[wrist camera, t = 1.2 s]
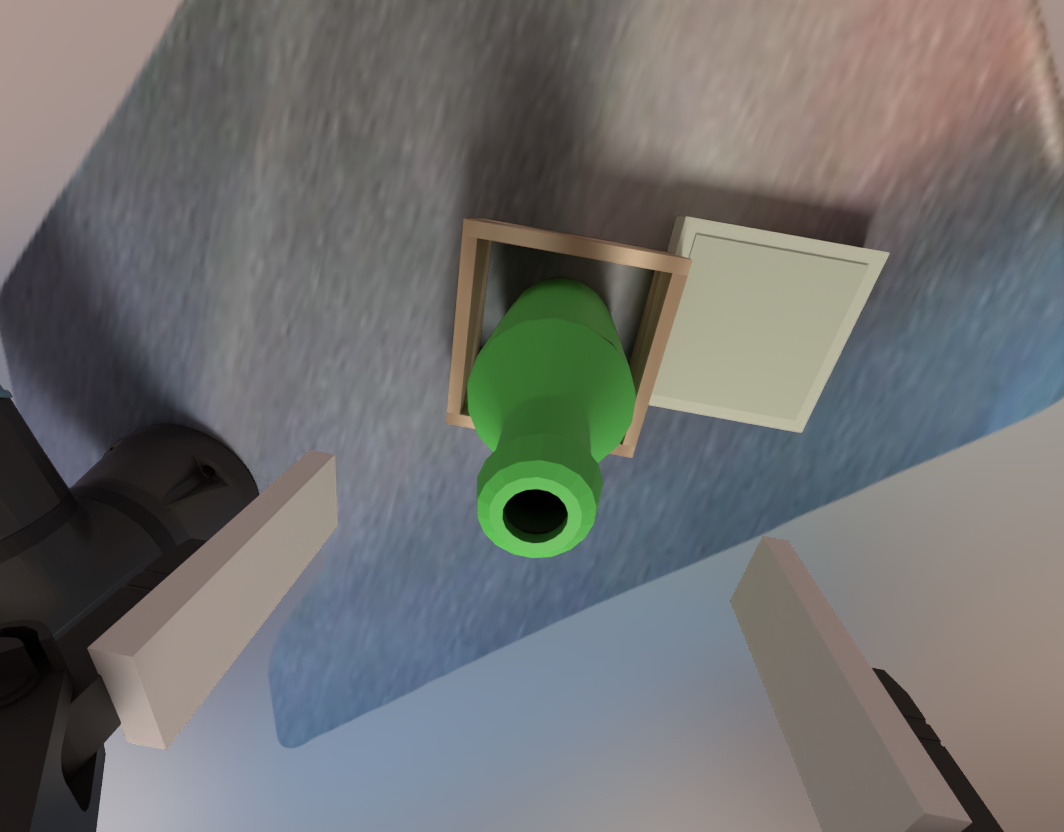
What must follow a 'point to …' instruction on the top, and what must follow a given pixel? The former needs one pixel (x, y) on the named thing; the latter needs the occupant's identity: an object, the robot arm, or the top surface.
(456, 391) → the open square wooden frame
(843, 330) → the stand block
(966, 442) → the top surface
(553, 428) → the bottle
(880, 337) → the top surface
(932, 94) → the top surface
